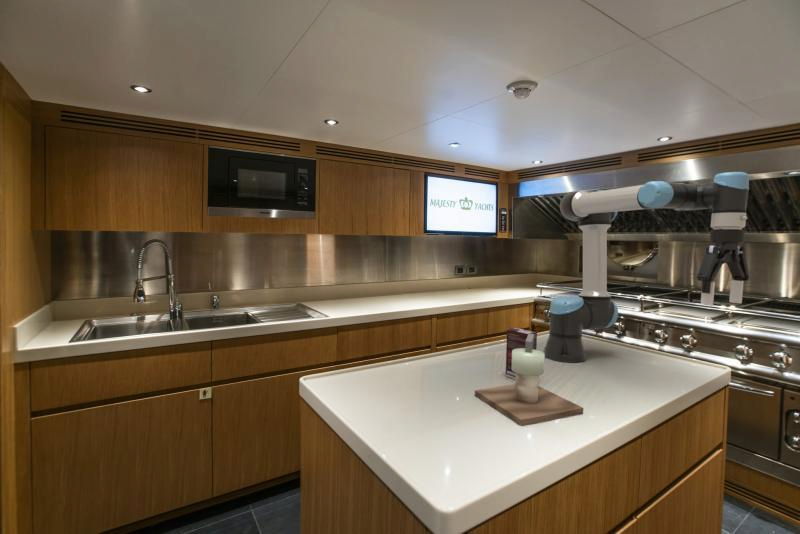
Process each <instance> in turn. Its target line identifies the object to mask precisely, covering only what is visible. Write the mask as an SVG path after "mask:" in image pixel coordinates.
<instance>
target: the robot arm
mask: <svg viewBox="0 0 800 534" xmlns="http://www.w3.org/2000/svg"><path fill="white" fill-rule="evenodd" d="M749 182H750V176H749V174H748V173H747V172H744V171H730V172H729V171H728V172H721V173H717V174H716V175H715V176H714V179H713V182H708V183H707V182H706V183H698V184H692V183H691V184H690V183H679V182H667V181H662V180H657V181H656V180H655V181H653V180H652V181H648V182H646V183H645V184H640V185H635V186H632V185H631V186H626V187H620V188H619V187H618V188H611V189H606V190H598V191H593V192H592V191H586V190H577V191H571V192H568V193H566V194H565V195H564V196H563V197H562V198H561V200H560V203H559V209H560V212H561V215H562V216H563V217H564V218H565V219H567V220H568V221H571V222H578V228H579V229H580V230H581V231H582V291H581V292H580V293H578V296H576V295H568V296H567V295H563V296H557V297H554V298H553V299H552V300H551V302H550V308H549V331H548V332H549V335H548V338H547V340H546V344H545V346H544V348H543V353H544V354H545V358H547V359H549V360H552V361H555V362H556V361H557V362H563V363H572V364H573V363H582V362H583V363H584V362H585V361H586V358H587V357H586V356H587V353H586V351H585V349H584V344H583V343H584V342H583V339H582V336H583V333H582V332H583V330H584V331H586V330H601V329H608V328H610V327H612V326H614V324H615V323H616V322H617V320H618V318H619V317H618V315H619V309H618V306H617V305H616V303H615V301H614V300H612V295H611V294H610V292H608V290H607V289H608V286H607V284H608V283H607V281H608V277H607V276H608V272H607V271H608V270H607V268H608V266H607V265H608V260H607V259H608V257H607V255H608V254H607V252H608V247H607V245H608V244H607V240H608V236H607V235H608V232H607V231H608V230H609V229H610V228H611V227H612V222H613V221H614V220H615V219H616V217H617V216H618V212H626V211H637V210H638V211H639V210H653V209H672V210H674V211H681V212H682V211H685V212H686V211H687V212H689V211H693V210H694V211H697V210H706V209H708V210H711V220H710V228H712V229H711V230H710V231H709V242H710V243H713V244H714V245H707V246H706V249H705V254H704V257H703V259H702V262H701V264H700V268H699V269H698V272H697V275H696V279H697V280H698V281H700V282H702V283H701V295H700V305H703V306H710V307H711V306H714V301H715V300H714V297H715V289H716V288H715V287H716V286H715V285H716V282H715V281H714V280H715V278H716V276H717V275H718V272H719V271H720V269H721V267H722V266H723V265H724V264H726V265H727V268H728V270H729V272H730V275H731V277H732V279H731V280H730V290H729V291H730V292H729V303H733V304H742V302H743V295H744V294H743V292H744V281H745V282H748V281H749V280H750V279H749V278H750V274H749V267H748V264H747V258H746V247H745V246H744V245H743V246H739V244H743V243H744V242H745V237H746V230H745V229H744V228H745V227H746V224H747V223H746V220H748V216H747V206H748V197H749V190H750V183H749Z"/></svg>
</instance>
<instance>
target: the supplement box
mask: <svg viewBox="0 0 800 534" xmlns="http://www.w3.org/2000/svg"><path fill="white" fill-rule="evenodd" d="M528 334H534V345H533V349H534V350H537V342H538V341H537V340H538V332H537V331H532V330H529V329H527V330H526V329H523V328H519V327H511V328H507V329H506V349H505V350H506V352H505V353H506V354H505V355H506V356H505V357H506V358H505V359H506V360H505V377H508V378H510V379H513V380H515V381H516V372H514V371H512V369H511V368H512V350H514V349H518V348H525V344H526V339H527V336H528Z"/></svg>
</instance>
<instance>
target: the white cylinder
mask: <svg viewBox="0 0 800 534" xmlns="http://www.w3.org/2000/svg"><path fill="white" fill-rule="evenodd" d="M533 345H534V334H528V336H527V339H526V344H525V348H518V349H514V350H512V368H511V369H512V371H514V372H516V373H518V374H522V375H528V376H539V377H540V376H542V375H543V374H545V358H546V357H545V354H544V351H541V350H538V349H536V350H534V349H533Z"/></svg>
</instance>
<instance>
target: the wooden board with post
mask: <svg viewBox="0 0 800 534" xmlns="http://www.w3.org/2000/svg"><path fill="white" fill-rule="evenodd" d="M539 382H540V375H539V376H528V375H522V374H518V373H516V380H515V383H514V384H509V385H502V386H494V387H488V388H483V389H481V388H480V389H476V390H474V396H475V397H476V398H477V399H479V400H481V401H482V402H484V403H486V404H487V405H488V406H489V407H491V408H493V409H495V410H496V411H498V412H500V413H501V414H502V415H504V416H505V417H507V418H508V419H510V420H511V421H512V422H514V423H517V425H519V426H521V427H523V426H528V425H533V424H537V423H543V422H547V421H552V420H558V419H563V418H567V417H572V416H577V415H583V414H584V407H583V406H581V405H578V404H576V403H575V402H572V401H570V400H568V399H566V398H564V397H562V396H560V395H558V394H556V393H554V392H551V391H549V390H548V389H546V388H543V387H542V386H540V385H539V384H540V383H539Z"/></svg>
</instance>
